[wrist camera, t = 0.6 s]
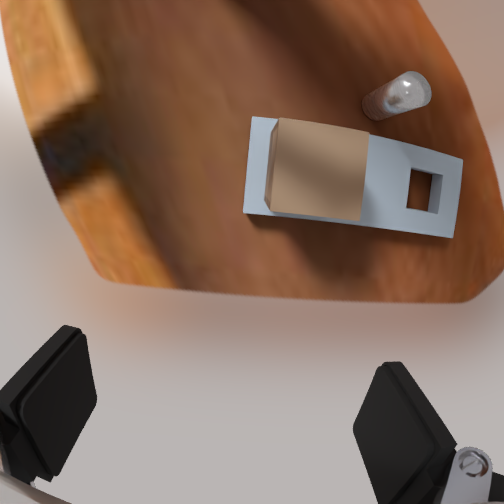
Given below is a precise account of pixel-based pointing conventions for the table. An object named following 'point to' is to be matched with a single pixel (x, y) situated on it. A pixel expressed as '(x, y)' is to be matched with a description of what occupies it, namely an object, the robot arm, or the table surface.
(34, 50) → the table surface
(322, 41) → the table surface
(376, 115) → the peg
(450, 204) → the board
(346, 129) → the wooden box
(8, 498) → the robot arm
